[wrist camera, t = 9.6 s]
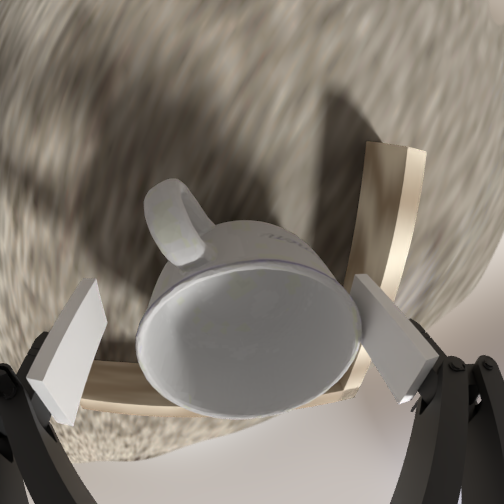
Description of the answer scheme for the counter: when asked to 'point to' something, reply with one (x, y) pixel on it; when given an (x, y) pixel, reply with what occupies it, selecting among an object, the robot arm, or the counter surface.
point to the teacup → (240, 314)
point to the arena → (360, 262)
